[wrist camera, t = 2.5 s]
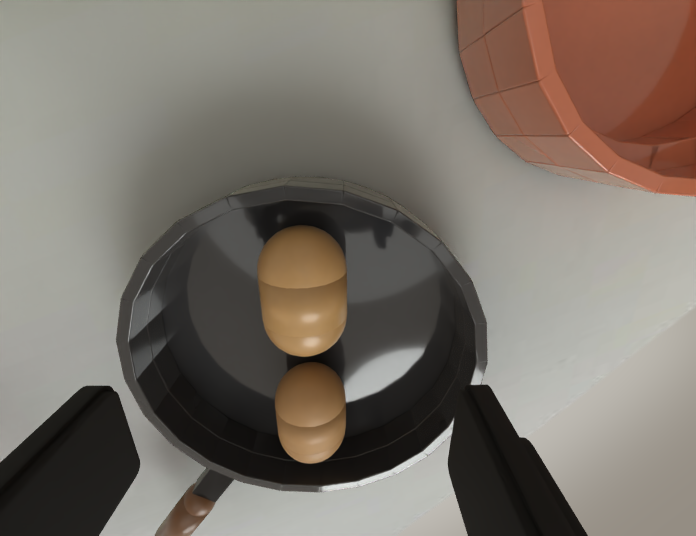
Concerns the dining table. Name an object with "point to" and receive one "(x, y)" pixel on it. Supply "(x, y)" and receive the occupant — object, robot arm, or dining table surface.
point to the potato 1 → (303, 290)
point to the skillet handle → (195, 504)
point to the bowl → (588, 86)
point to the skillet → (272, 363)
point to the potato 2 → (310, 412)
